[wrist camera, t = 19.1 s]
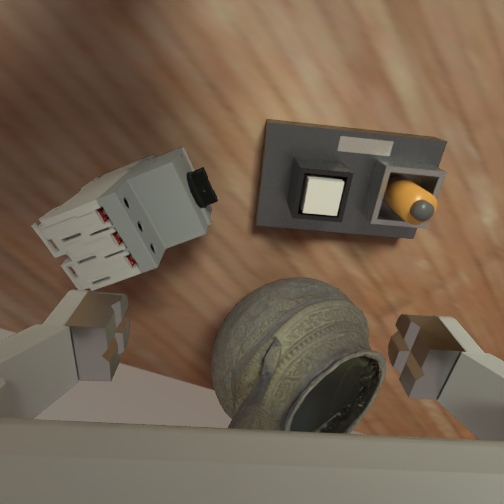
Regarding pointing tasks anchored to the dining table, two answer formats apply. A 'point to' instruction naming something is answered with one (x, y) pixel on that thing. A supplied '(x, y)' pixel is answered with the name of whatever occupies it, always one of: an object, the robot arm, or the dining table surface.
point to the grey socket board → (343, 176)
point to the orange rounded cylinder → (409, 200)
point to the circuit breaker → (129, 219)
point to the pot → (296, 360)
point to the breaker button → (321, 194)
